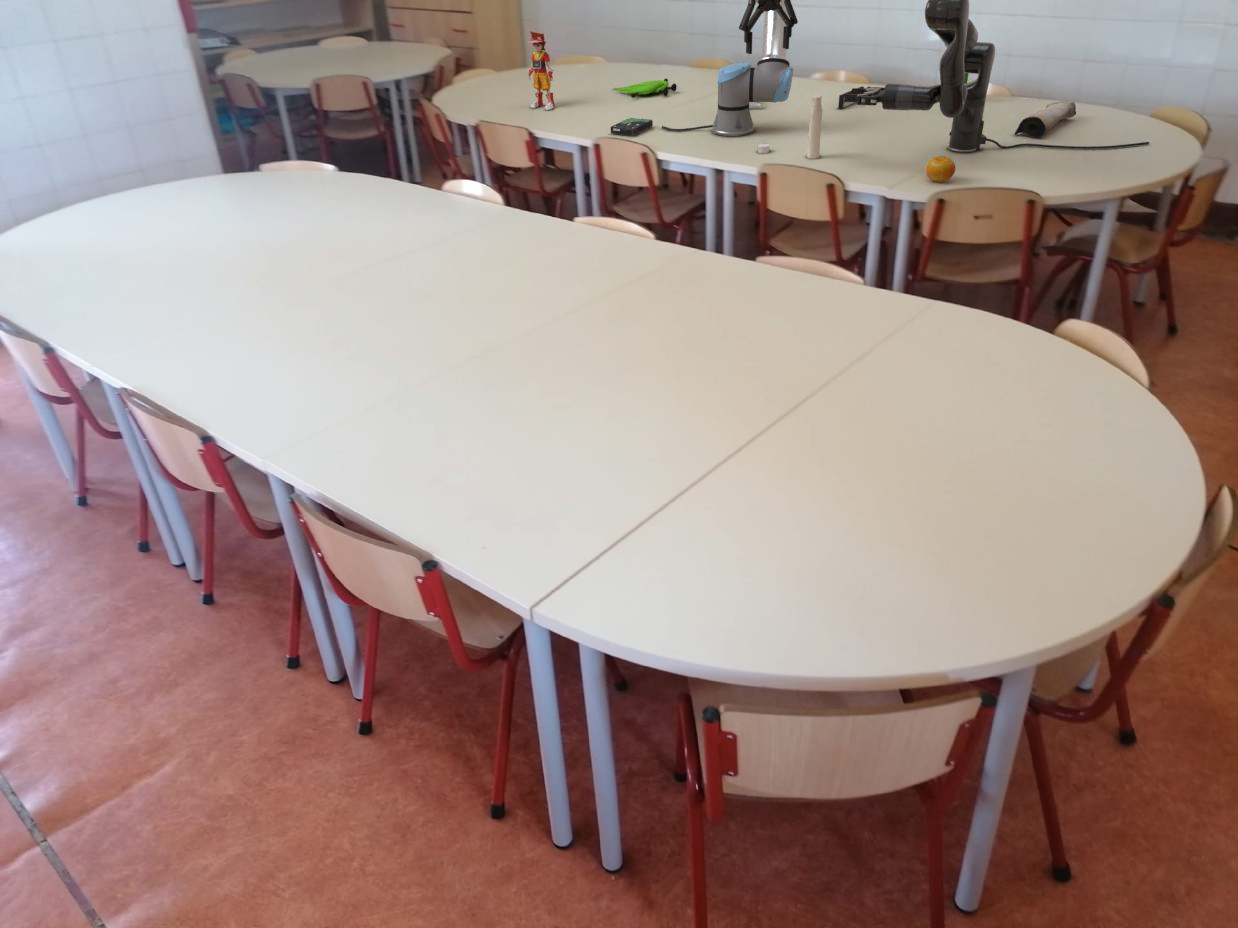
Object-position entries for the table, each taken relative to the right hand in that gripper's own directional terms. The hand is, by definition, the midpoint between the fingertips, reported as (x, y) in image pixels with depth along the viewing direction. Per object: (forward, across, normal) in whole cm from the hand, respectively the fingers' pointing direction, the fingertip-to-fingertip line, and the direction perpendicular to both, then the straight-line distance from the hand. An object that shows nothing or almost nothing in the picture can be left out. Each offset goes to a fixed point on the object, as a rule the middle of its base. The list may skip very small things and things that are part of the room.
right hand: (848, 95), depth 290 cm
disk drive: (+85, -16, +20) cm, 89 cm away
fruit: (-34, +14, +21) cm, 42 cm away
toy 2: (+108, -75, +20) cm, 133 cm away
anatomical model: (+55, -62, +20) cm, 85 cm away
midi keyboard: (+15, -73, +20) cm, 77 cm away
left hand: (+28, -2, -12) cm, 31 cm away
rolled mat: (-59, -55, +20) cm, 84 cm away
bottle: (+10, 0, +21) cm, 23 cm away
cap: (+28, -2, +19) cm, 34 cm away
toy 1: (+138, -40, +20) cm, 146 cm away
